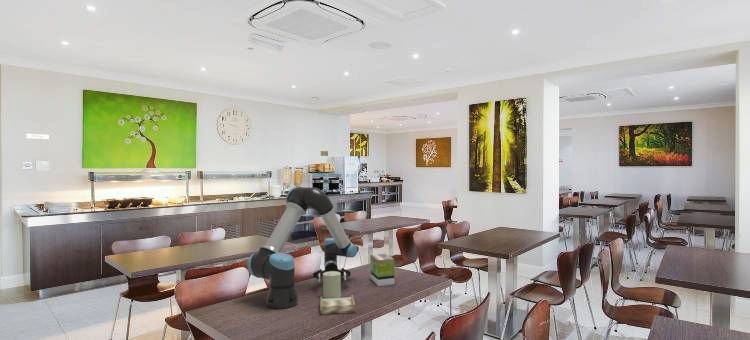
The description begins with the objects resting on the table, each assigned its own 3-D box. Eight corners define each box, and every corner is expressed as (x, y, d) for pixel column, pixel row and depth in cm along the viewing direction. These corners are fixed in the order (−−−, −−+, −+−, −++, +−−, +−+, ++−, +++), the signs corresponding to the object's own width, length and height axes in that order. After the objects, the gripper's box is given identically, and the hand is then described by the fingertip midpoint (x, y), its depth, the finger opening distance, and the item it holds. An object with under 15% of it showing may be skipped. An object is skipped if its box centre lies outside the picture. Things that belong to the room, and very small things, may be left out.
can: (319, 297, 208) (318, 273, 208) (330, 292, 216) (329, 269, 216) (334, 300, 203) (333, 275, 203) (344, 294, 211) (344, 271, 211)
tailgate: (320, 303, 198) (320, 301, 198) (320, 300, 203) (320, 298, 203) (352, 301, 200) (352, 299, 200) (352, 298, 205) (352, 296, 205)
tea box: (370, 279, 240) (369, 254, 240) (386, 277, 243) (386, 252, 243) (377, 286, 226) (377, 259, 225) (395, 284, 229) (394, 258, 228)
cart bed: (320, 314, 183) (320, 306, 183) (320, 303, 199) (320, 295, 199) (355, 312, 185) (355, 304, 185) (352, 301, 201) (352, 294, 201)
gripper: (352, 274, 239) (356, 284, 218) (309, 276, 236) (308, 286, 215) (352, 261, 239) (355, 270, 218) (309, 263, 236) (308, 272, 215)
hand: (332, 278), depth 217 cm, fingers open, 13 cm apart
